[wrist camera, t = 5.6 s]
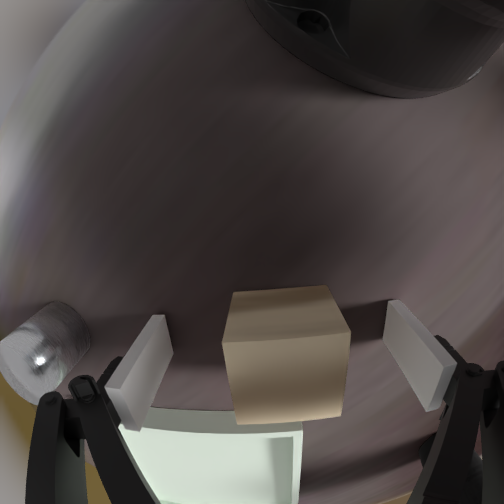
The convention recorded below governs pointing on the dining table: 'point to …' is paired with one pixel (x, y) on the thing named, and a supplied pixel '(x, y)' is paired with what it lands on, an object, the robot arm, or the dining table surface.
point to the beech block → (286, 355)
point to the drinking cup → (474, 480)
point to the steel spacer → (43, 350)
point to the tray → (217, 458)
